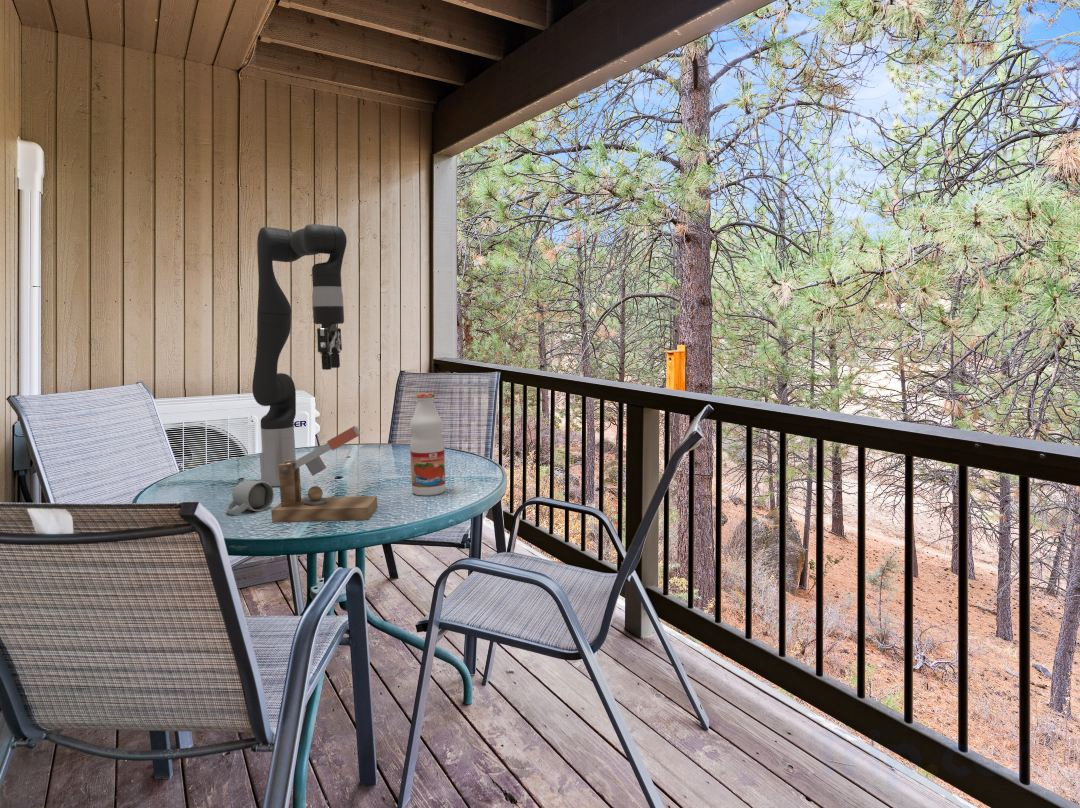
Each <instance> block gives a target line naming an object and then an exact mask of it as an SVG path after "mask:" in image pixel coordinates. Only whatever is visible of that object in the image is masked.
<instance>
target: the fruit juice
mask: <svg viewBox="0 0 1080 808" xmlns="http://www.w3.org/2000/svg"><path fill="white" fill-rule="evenodd" d="M415 398H416V400H417V403H416V407H415V410H414V413H413V416H412V418H411V420H410V422H409V431H410V433H411V439H410V443H409V444H410V445H409V453H410V476H411V481H410V482H411V492H412V493H413V495H417V496H427V497H428V496H435V495H441V494H443V493H444V492H445V490H446V464H445V462H446V461H445V443H444V442H445V441H444V438H443V435H442V433H443V429H444V424H443V419H442V418H441V417H440V414H439V413H438V410H437V408H436V405H435V402H434V399H435V394H434V393H433V392H419V393H416V397H415Z"/></svg>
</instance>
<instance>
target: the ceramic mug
mask: <svg viewBox="0 0 1080 808" xmlns="http://www.w3.org/2000/svg"><path fill="white" fill-rule="evenodd" d="M274 493H275V491H274V489H273V486H271V485H270V484H269V483H267V482H264V481H261V480H245V481H241V482H239V483H238V484H237V485H235V487H234V488H233V490H232V501H231V502H230V503H229V504H227V505H226V507H225V511H226V512H227V514H228V515H230V516H234V515H238V514H240V513H242V512H244V511H245V510H249V511H252V512H253V511H254V512H259V513H260V512H264V511H266V510H267V509H269V507H270V506H271V505H272V503H273V501H274V496H275V494H274ZM236 506H237V507H236Z"/></svg>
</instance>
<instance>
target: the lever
mask: <svg viewBox="0 0 1080 808" xmlns="http://www.w3.org/2000/svg"><path fill="white" fill-rule="evenodd" d="M359 436H361V431H360V429H359V428H358V426H356V425H353V426H351V427H350V428H348V429H346V430H344V431H343V432H341V433H339V434H337V435H336V436H334V437H332V438H330V439H329V440H327V441H326V443H325V444H323V445H320V446H319V447H317V448H315V449H314V450H312V451H310V452H309V453H307V454H305V455H303V456H302V457H299V458H298V459H296V461H294V462H288V463H286V464H294V472H295V471H296V469H297V468H299V469H300V467H302V466H304V465H305V467H306V469H308V471H309V473H310V475H311V476H312V477H313V476H315V475H317V474H318V473H320V472H322V471H325V469H327V466H326V465H325V463H324V461H323V460H322V457H320V456H322V455H324V454H325V453H327V452H329V451H331V450H332V451H334V450H336V449H338V448H340V447H341V446H342V447H343V445H345V444H346V443H349V442H351V441H352V440H354V439H356V438H357V437H359Z"/></svg>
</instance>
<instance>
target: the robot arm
mask: <svg viewBox="0 0 1080 808" xmlns="http://www.w3.org/2000/svg"><path fill="white" fill-rule="evenodd" d="M256 239H257V240H256V244H257V245H256V246H257V248H256V252H257V253H256V255H257V267H258V268H257V271H258V289H257V291H258V293H257V298H258V299H257V313H256V314H257V317H256V331H257V332H256V350H255V351H256V352H255V362H254V369H253V376H252V386H251V387H252V388H251V389H252V390H251V391H252V396H253V398H254V400H255V402H256V403H257V404H259V405H260V406H262V407H269V409H268V411H267V413H266V414H265V415H264V416H263V417H262V418H260V434H261V448H262V451H261V452H260V453H259V464H260V465H259V466H260V481H264V482H267V483H269V484H270V485H271V487H280V480H279V464H285V462H284V461H286V460H297V459H296V457H297V456H296V442H295V441H296V439H295V427H294V426H295V425H294V423H295V419H296V413H297V410H296V409H297V408H296V407H297V402H296V401H297V400H296V399H297V397H296V396H297V393H296V385H295V382H294V380H293V378H292V377H291V376H290V375H289V374H287V373H283V372H278V364H279V358H280V355H281V353H282V350H283V348H284V346H285V345H286V344H287V341H288V338H289V335H290V333H291V331H292V330H291V329H292V328H291V327H292V306H291V304H290V302H289V300H288V298H287V296H286V295H285V293H284V291H283V289H282V288H281V287H280V284H279V283H278V281H277V279H276V275H275V272H274V266H273V264H274V263H273V262H281V263H292V262H296V261H298V260H299V259H301V258H302V257H304V256H315V255H318V254H322V255H323V254H325V255H327V254H328V255H329V257H328V260H327V261H324V262H319V263H315V264H313V266H312V267H311V277H312V279H311V281H312V292H311V294H312V295H311V296H312V297H311V299H312V300H311V301H312V302H311V303H312V318H313V324H315V325H321V327H318V328H316V336H317V338H316V339H317V352H318V353H319V354H320V356H321V368H322V370H323V371H325V370H327V371H328V370H330V371H331V370H332V369H336V368H337V369H338V368H340V367H341V359H340V357H341V356H340V353H341V351H342V350H343V346H342V345H343V344H342V328H341V327H338V325H343V324H345V310H344V295H343V291H342V290H343V289H342V286H343V285H342V266H343V261H344V255H345V252H346V248H347V243H348V242H347V241H348V240H347V235H346V232H345V231H344V229H342V227H339V226H337V225H336V226H335V225H325V224H317V223H316V224H311V223H310V224H307V225H305V226H304V227H303V228H300V229H297V230H296V231H292V230H289V229H285V228H277V227H269V226H262V227H261V228H260V229H259V231H258V235H257V238H256Z"/></svg>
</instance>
